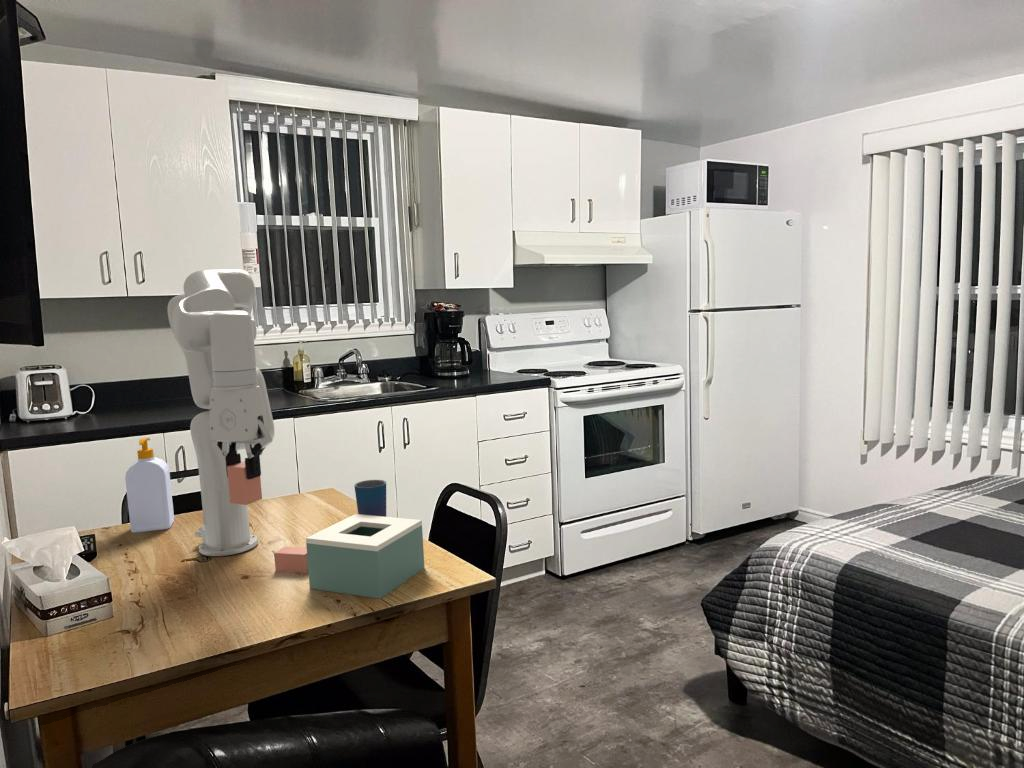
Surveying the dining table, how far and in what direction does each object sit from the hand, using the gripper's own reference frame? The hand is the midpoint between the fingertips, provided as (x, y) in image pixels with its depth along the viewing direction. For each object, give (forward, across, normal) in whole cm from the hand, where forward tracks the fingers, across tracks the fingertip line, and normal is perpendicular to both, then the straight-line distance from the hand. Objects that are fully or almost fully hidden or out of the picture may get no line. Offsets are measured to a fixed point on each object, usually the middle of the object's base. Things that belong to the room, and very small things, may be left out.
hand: (244, 475), depth 137 cm
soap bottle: (+23, -56, +25) cm, 65 cm away
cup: (+23, +9, +27) cm, 37 cm away
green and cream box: (+23, +17, +13) cm, 31 cm away
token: (+23, -1, +13) cm, 26 cm away
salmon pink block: (+5, 0, 0) cm, 5 cm away
